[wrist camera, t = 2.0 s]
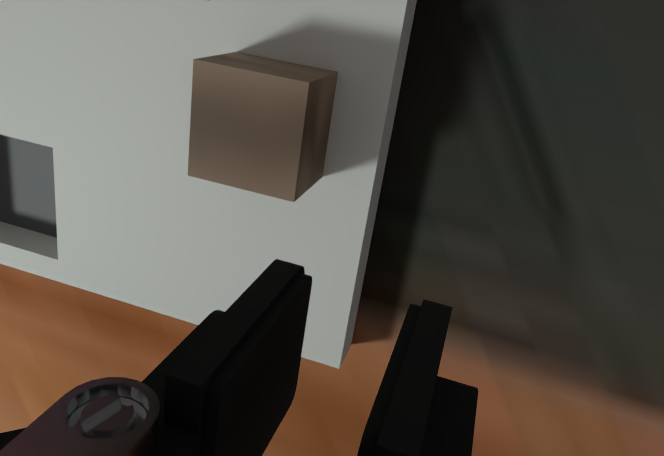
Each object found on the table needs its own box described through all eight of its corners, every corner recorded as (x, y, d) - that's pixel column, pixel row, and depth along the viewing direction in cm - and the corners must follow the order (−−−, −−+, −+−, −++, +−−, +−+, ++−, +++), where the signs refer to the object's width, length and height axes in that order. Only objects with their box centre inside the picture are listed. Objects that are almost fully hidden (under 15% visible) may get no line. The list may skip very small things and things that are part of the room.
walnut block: (322, 176, 28) (293, 202, 24) (228, 154, 29) (187, 175, 26) (338, 71, 26) (309, 82, 22) (236, 51, 27) (193, 59, 24)
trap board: (351, 344, 34) (331, 384, 30) (-63, 220, 40) (-120, 241, 37) (452, -186, 24) (440, -219, 20) (-125, -240, 30) (-213, -273, 26)
